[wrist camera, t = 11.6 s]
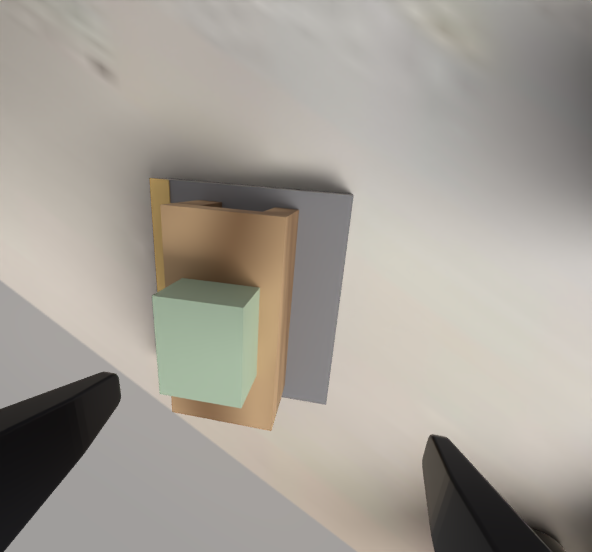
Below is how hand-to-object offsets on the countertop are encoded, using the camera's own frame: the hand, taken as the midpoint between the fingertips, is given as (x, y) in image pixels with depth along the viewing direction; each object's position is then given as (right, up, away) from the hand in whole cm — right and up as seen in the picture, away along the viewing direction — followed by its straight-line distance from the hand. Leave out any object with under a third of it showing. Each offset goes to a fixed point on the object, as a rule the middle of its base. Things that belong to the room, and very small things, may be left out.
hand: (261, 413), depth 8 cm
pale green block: (-3, +1, +7) cm, 8 cm away
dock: (-2, +3, +13) cm, 13 cm away
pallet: (-2, +2, +11) cm, 11 cm away
